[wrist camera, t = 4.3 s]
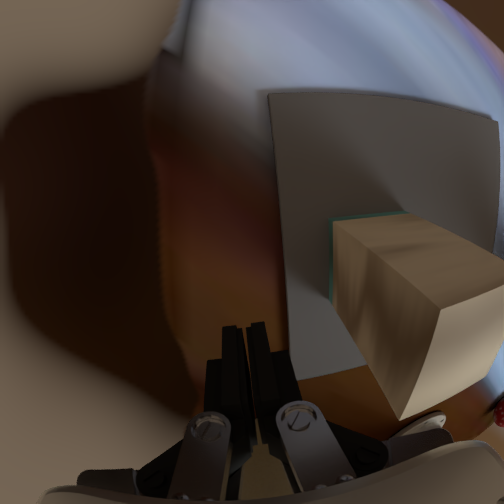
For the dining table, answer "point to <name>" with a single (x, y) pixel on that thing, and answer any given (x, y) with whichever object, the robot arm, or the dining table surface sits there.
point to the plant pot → (263, 474)
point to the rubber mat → (369, 193)
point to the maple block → (416, 305)
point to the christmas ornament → (499, 413)
